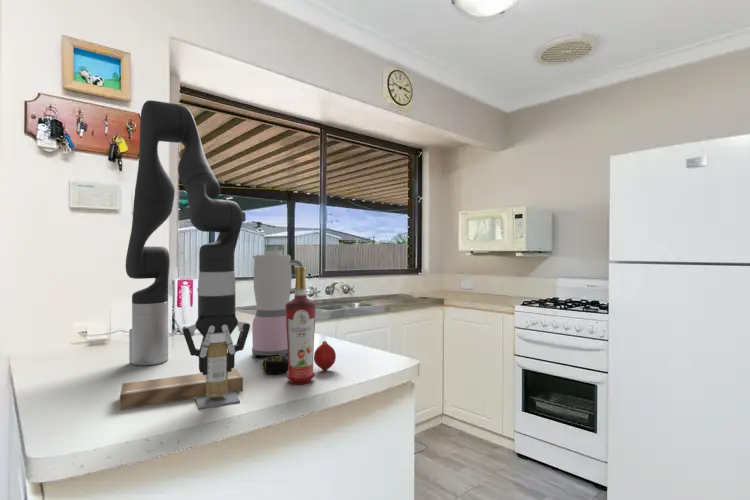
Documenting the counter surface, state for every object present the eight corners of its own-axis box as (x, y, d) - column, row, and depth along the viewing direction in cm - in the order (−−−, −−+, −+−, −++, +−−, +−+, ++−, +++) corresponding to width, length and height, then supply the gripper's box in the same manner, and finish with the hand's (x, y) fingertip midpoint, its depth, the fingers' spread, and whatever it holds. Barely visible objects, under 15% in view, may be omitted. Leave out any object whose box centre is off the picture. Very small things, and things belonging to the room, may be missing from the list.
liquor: (314, 375, 107) (314, 266, 107) (317, 384, 99) (316, 267, 99) (285, 377, 105) (285, 266, 105) (285, 387, 98) (285, 267, 98)
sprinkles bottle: (229, 390, 92) (229, 329, 92) (226, 397, 88) (226, 333, 88) (207, 391, 91) (207, 330, 91) (203, 399, 87) (203, 334, 87)
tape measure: (290, 375, 108) (290, 360, 108) (263, 377, 106) (263, 362, 106) (287, 367, 115) (287, 354, 115) (262, 370, 113) (262, 356, 113)
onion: (314, 367, 114) (314, 338, 114) (335, 367, 114) (335, 338, 114) (313, 374, 108) (313, 343, 108) (335, 373, 109) (335, 342, 109)
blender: (246, 359, 123) (245, 250, 123) (258, 349, 135) (258, 250, 135) (299, 359, 123) (299, 250, 123) (306, 349, 135) (306, 250, 135)
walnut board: (120, 409, 84) (120, 394, 84) (122, 397, 91) (122, 383, 91) (242, 390, 96) (242, 376, 96) (236, 380, 103) (236, 368, 103)
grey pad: (198, 409, 84) (198, 407, 84) (195, 398, 90) (195, 396, 90) (239, 402, 88) (239, 400, 88) (234, 392, 94) (234, 390, 94)
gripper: (181, 296, 83) (181, 382, 83) (254, 292, 89) (254, 372, 89) (179, 292, 89) (179, 372, 89) (247, 289, 96) (247, 364, 96)
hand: (217, 372), depth 89 cm, fingers closed on sprinkles bottle, 4 cm apart
